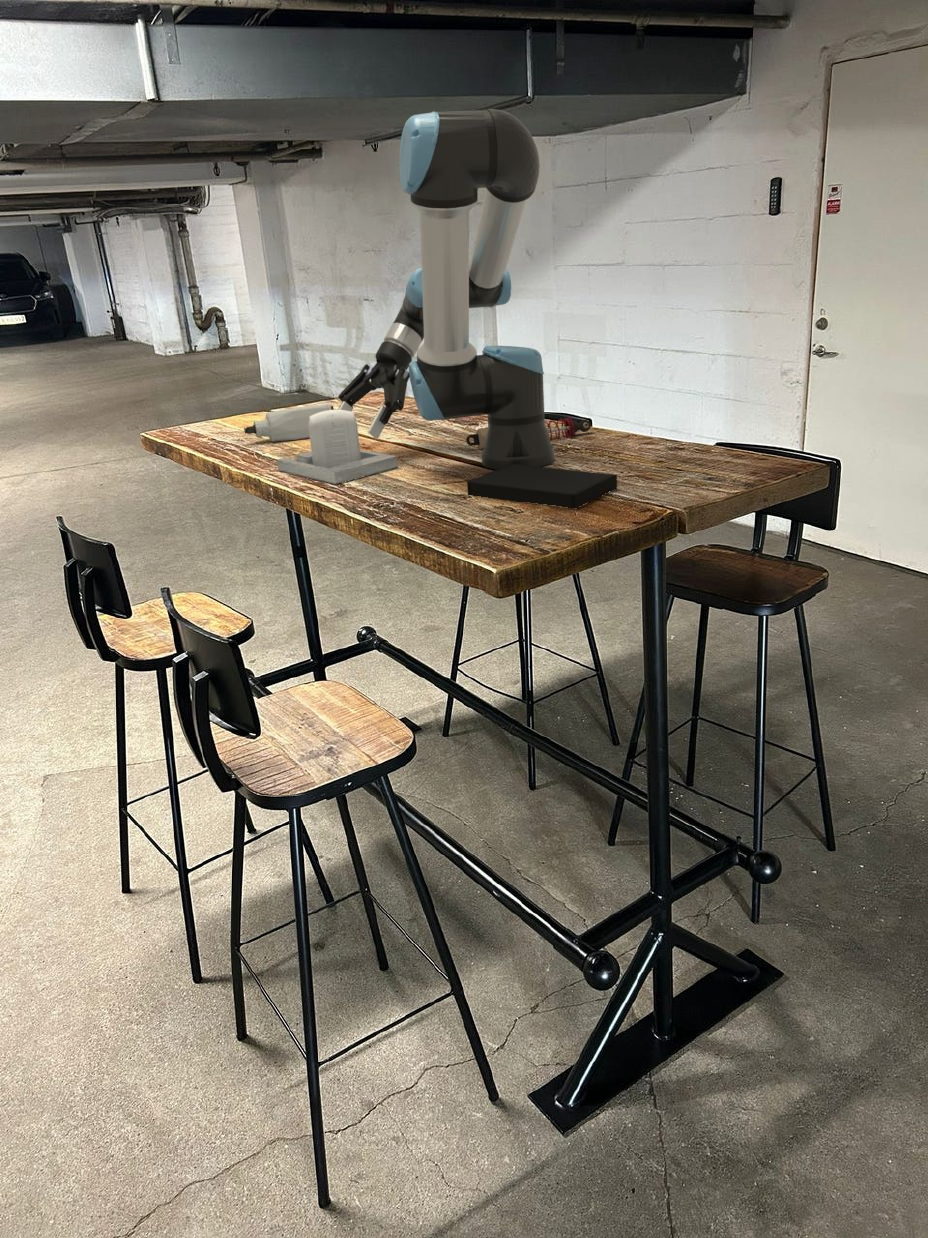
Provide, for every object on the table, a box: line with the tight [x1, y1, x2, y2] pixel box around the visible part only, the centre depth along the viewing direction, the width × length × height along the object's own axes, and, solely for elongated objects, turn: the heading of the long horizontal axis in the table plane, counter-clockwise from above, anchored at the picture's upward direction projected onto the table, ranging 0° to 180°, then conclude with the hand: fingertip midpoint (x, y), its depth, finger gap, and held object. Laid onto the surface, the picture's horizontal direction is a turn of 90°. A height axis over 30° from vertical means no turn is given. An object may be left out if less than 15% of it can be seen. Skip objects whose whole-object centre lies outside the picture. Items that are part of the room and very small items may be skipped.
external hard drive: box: [466, 464, 618, 509], centre depth 162 cm, size 14×23×3 cm, turn 52°
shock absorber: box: [465, 417, 592, 450], centre depth 202 cm, size 5×5×30 cm
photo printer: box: [308, 409, 361, 468], centre depth 188 cm, size 10×4×12 cm, turn 102°
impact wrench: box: [243, 403, 335, 443], centre depth 234 cm, size 8×23×25 cm
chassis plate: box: [276, 448, 399, 485], centre depth 191 cm, size 22×16×2 cm
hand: (352, 432), depth 192 cm, fingers open, 13 cm apart
